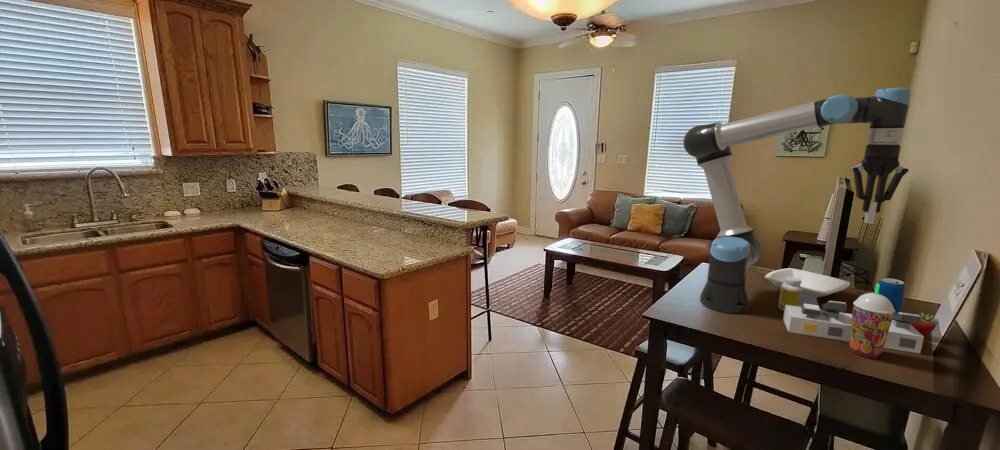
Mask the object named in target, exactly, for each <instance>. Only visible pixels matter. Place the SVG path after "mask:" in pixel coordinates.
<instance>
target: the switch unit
mask: <svg viewBox="0 0 1000 450" xmlns="http://www.w3.org/2000/svg"><path fill="white" fill-rule="evenodd" d="M782 317H783V319H782V320H783V323H784V324H785V327H786V329H787V331H788V332H789V333H793V334H800V335H803V336H804V335H805V336H811V337H817V338H824V339H829V340H834V341H842V342H847V343H849V342H850V332H851V323H852V313H846V312H834V311H827V310H826V311H821V309H820V315H819V316H814V315H808V314H803V313H802V309H801V306H800V307H798V306H791V305H785V310H784V311H783V316H782ZM924 339H925V338H924V336H923V335H921V334H920V333H919V332H918V331H917V330H916V329H915V328H914V327H913V326H912V325H911V324H910V322H906V321H900V320H895V319H892V322H891V325H890V328H889V331H888V335H887V338H886V341H885V344H884V348H883V349H888V350H889V349H890V350H896V351H901V352H908V353H914V354H921V351H922V348H923V343H924Z"/></svg>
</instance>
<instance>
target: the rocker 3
mask: <svg viewBox="0 0 1000 450" xmlns="http://www.w3.org/2000/svg"><path fill="white" fill-rule="evenodd" d="M920 316H921V315H920V314H917V315H916V314H914V313H907V312H901V311H900V312H899V313H895V312H894V315H893V318H892V320H898V321H905V322H909V323H910V322H913V323H921V317H920Z"/></svg>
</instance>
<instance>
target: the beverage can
mask: <svg viewBox="0 0 1000 450" xmlns="http://www.w3.org/2000/svg"><path fill="white" fill-rule="evenodd" d="M877 284H880V286H879V291H878V294H881V295H883V296H885V297H886V298H888V299H889V301H890V302H891V303H892V305H893V308H894V309H895V313H899V312H901V308H902V307H901V306H902V304H903V298H904V293H905V289H906V286H905V282H904V281H902V280H900V279H896V278H890V277H889V278H888V277H882V278H880V280H879V281H878V283H877Z"/></svg>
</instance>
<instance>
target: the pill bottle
mask: <svg viewBox="0 0 1000 450" xmlns="http://www.w3.org/2000/svg"><path fill="white" fill-rule="evenodd" d="M784 282H785V283H783V284H782V285H781V287H780V288H779V289H780V290H779V295H778V296H779V298H778V304H777V307H778V309H780V310H781V311H783V312H784V310H785V305H791V306H798V307H801V305H800V301H799V298H798V297H799V293H802V292H803V288H802V287H801V286H800V285H801V279H799V278H795V277H785V279H784Z"/></svg>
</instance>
